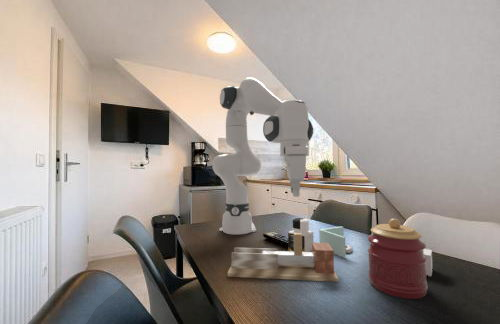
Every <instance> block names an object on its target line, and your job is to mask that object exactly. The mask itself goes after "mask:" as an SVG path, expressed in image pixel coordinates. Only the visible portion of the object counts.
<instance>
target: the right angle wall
mask: <svg viewBox="0 0 500 324" xmlns="http://www.w3.org/2000/svg"><path fill="white" fill-rule="evenodd" d="M318 232H319V233H318V235H319V237H318V239H319V242H318V243H328V244H329V245H330V246H331V248H332V249H333V251H334V255H336V256H338V257H341V258H343V259H346V258H347V257H346V256H347V255H346V254H352V252H353V246H351V245H349V244H346V236H344V226H341V225H340V226H335V227H328V228H321V229H319V230H318Z"/></svg>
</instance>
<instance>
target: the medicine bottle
mask: <svg viewBox="0 0 500 324" xmlns="http://www.w3.org/2000/svg"><path fill="white" fill-rule="evenodd" d="M309 222H310V221H309V219H308V218H305V217H304V218H303V217H297V218H296V217H295V218H293V219H292V230H289V231H288V232H287V243H288V245H287V247H288V250H287V251H289V252H294V233H302V252H312V243H315V241H314V231H313V230H310V229H309V228H310V224H309Z"/></svg>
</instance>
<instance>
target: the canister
mask: <svg viewBox="0 0 500 324" xmlns="http://www.w3.org/2000/svg"><path fill="white" fill-rule="evenodd" d="M370 232H371V234H370V235H368V236H367V240H368V242H369V247H368V249H367V251H368V278H369V282H370V284H371V285H372V287H374V288H375V289H377V290H378V291H380V292H382V293H385V294H387V295H389V296H392V297H397V298H401V299H411V300H413V299H414V300H415V299H421V298H424V297H425V296H426V295H427V291H428V282H427V275H426V257H425V256H424V252H423V250H424V249H427V248H426V247H427V245H426V243H425V242H423V241H422V240H421V238H422V234H421V233H420V232H418V231H416V230H415V229H414V228H413V227H409V226H406V225H403V224H402V225H401V222H400V220H399V219H398V218H391V219H389V221H388V223H378V224H377V225H376V226H373V227H371V228H370Z"/></svg>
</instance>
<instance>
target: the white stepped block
mask: <svg viewBox="0 0 500 324" xmlns="http://www.w3.org/2000/svg"><path fill="white" fill-rule="evenodd" d="M262 253H264V254H278V266H301V267H315V254H314V252H312V251H311V252H302V233H294V252H292V251H289V250H286V251H285V250H283V251H282V250H277V251H262Z"/></svg>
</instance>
